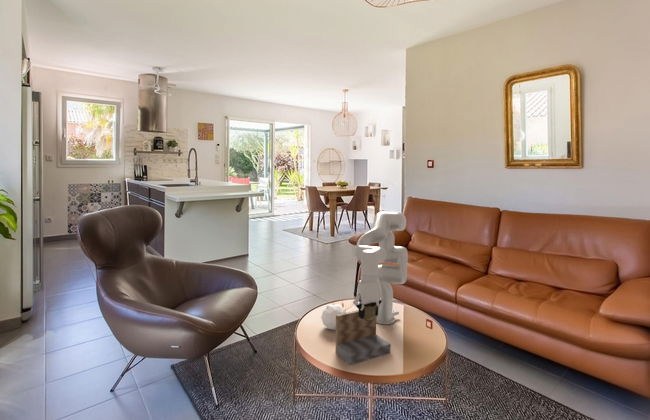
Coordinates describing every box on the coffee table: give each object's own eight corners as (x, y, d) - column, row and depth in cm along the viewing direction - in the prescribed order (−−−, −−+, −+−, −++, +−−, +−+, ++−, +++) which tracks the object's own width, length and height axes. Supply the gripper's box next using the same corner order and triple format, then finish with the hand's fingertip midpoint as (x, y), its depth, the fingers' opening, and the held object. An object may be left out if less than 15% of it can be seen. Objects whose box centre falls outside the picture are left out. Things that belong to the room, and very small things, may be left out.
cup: (358, 316, 165) (359, 299, 164) (374, 316, 166) (374, 299, 165) (361, 323, 158) (362, 306, 157) (378, 323, 159) (378, 305, 158)
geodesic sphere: (327, 327, 180) (339, 302, 184) (310, 318, 190) (322, 295, 194) (343, 337, 188) (355, 313, 192) (326, 328, 199) (338, 305, 203)
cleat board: (374, 341, 178) (375, 306, 176) (390, 353, 167) (391, 315, 165) (335, 352, 167) (335, 315, 165) (350, 365, 156) (350, 325, 154)
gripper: (379, 272, 167) (378, 309, 169) (348, 278, 159) (347, 316, 161) (390, 277, 161) (389, 315, 163) (357, 282, 152) (356, 323, 154)
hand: (368, 316), depth 162 cm, fingers closed on cup, 7 cm apart
